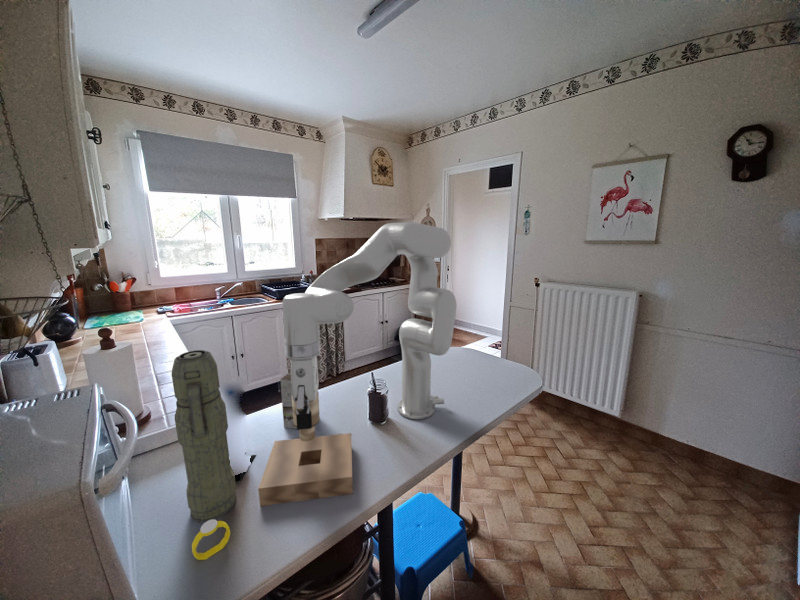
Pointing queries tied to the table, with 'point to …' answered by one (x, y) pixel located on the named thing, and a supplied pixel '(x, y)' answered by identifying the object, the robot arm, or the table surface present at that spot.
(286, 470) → the board
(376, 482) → the table surface
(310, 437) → the peg
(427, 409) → the robot arm
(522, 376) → the table surface
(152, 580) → the table surface
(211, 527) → the watch
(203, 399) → the thermos
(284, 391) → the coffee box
